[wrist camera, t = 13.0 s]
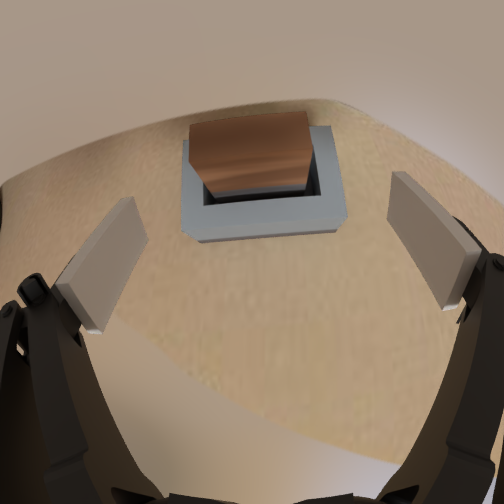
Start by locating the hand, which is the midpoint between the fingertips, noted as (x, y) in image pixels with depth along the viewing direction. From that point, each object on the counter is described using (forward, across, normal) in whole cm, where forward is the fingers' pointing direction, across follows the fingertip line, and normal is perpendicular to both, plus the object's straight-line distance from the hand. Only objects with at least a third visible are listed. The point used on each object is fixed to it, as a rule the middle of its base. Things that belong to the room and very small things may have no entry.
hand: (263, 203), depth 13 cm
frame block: (+15, 0, -7) cm, 16 cm away
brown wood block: (+14, -1, -6) cm, 15 cm away
